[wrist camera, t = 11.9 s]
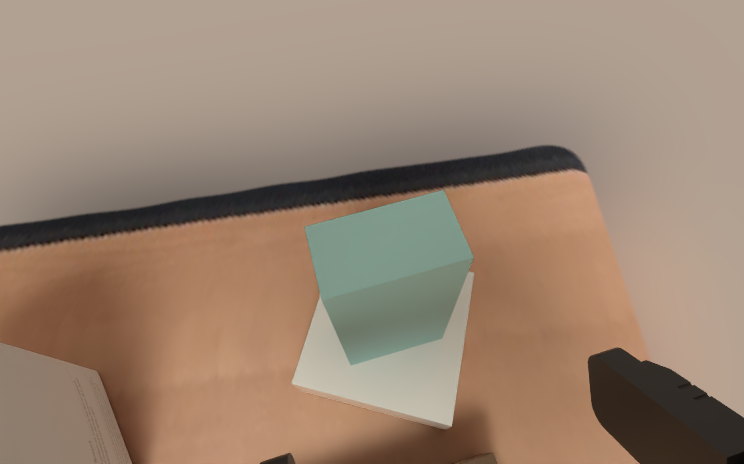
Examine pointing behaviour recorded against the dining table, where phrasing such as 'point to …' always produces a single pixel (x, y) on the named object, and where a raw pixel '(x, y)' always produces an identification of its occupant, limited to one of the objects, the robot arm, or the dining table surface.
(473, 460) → the square wooden frame
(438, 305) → the tall block
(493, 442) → the dining table surface
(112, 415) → the supplement box
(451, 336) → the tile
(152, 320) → the dining table surface
